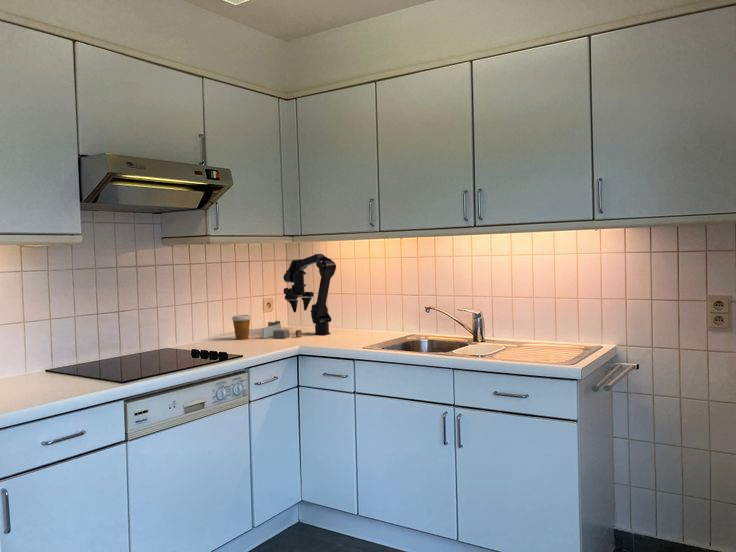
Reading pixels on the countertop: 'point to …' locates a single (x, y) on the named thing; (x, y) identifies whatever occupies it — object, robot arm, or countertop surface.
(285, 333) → the grey rectangular block
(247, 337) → the disposable coffee cup
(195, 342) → the countertop surface
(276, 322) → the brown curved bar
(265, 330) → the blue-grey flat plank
